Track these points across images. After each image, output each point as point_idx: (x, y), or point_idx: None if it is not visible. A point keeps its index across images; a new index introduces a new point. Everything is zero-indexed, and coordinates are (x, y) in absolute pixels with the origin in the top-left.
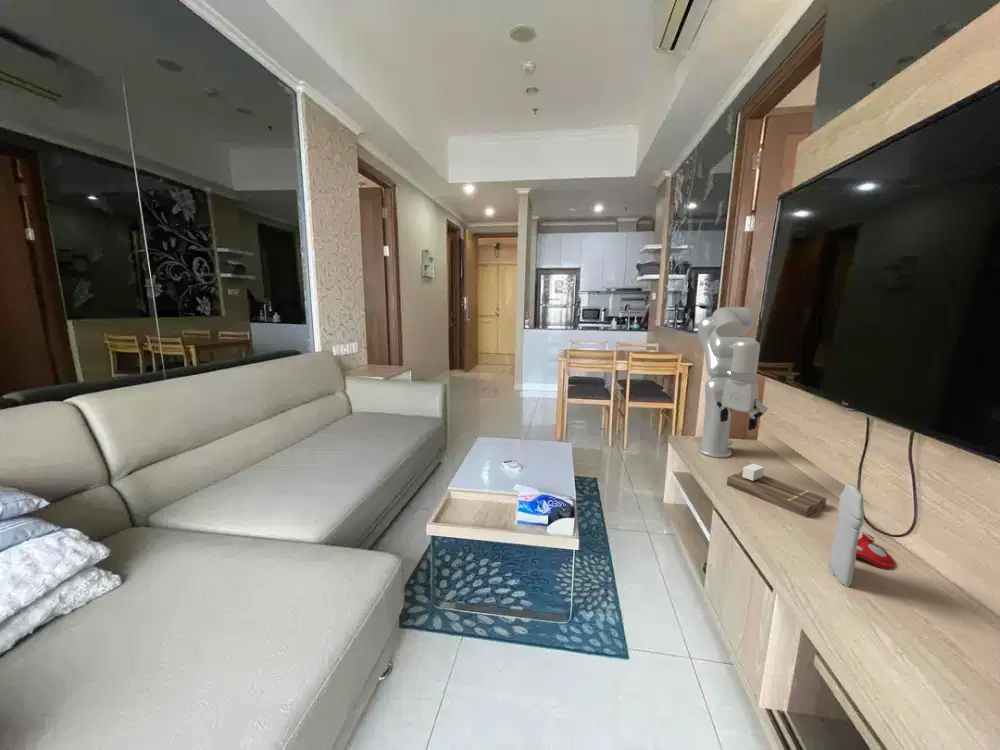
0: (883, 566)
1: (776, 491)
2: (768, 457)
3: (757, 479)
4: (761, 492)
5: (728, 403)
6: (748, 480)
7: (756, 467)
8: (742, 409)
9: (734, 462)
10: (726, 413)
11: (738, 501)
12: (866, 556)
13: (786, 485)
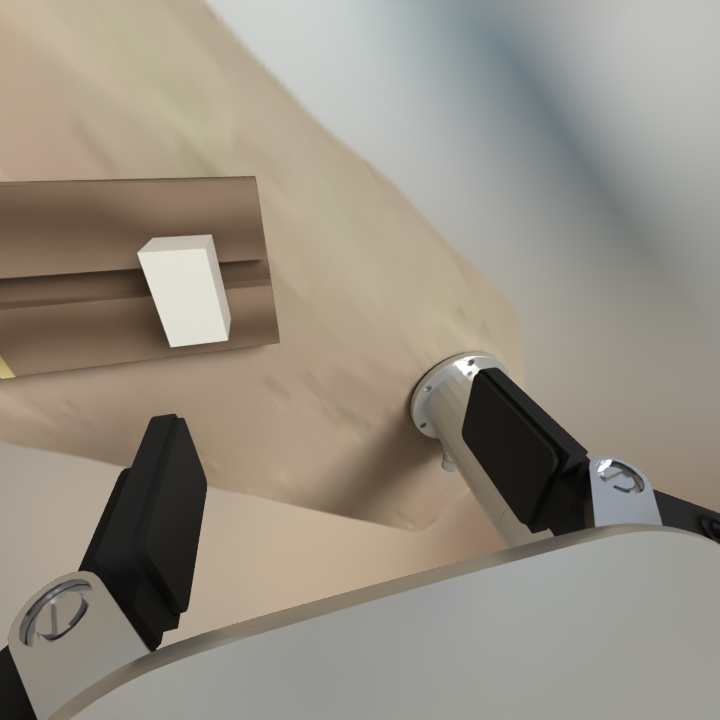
0: None
1: (21, 244)
2: (344, 490)
3: None
4: (57, 183)
5: (671, 667)
6: None
7: (178, 310)
8: (208, 711)
9: (377, 389)
10: (512, 477)
11: (64, 14)
12: None
13: (85, 346)
